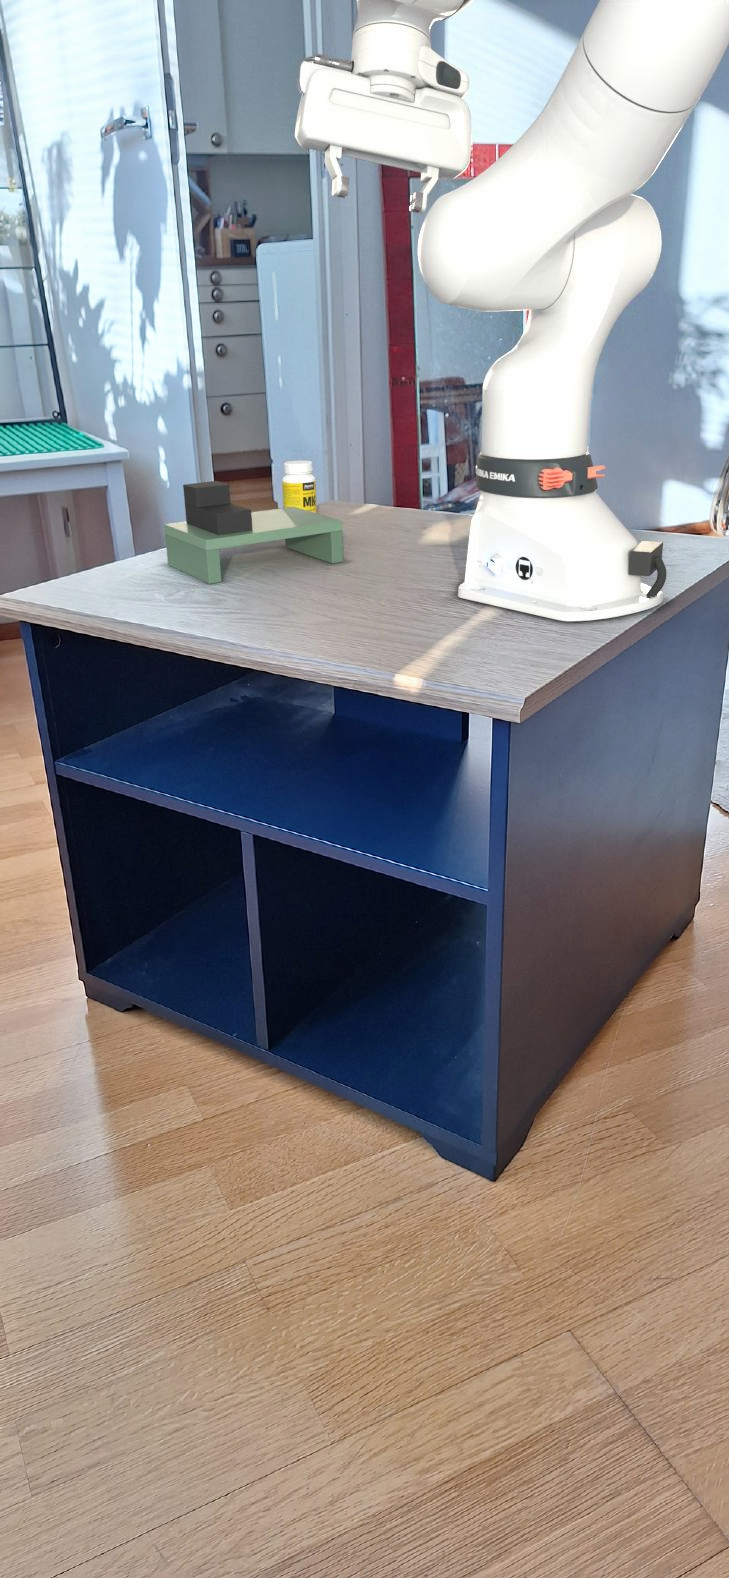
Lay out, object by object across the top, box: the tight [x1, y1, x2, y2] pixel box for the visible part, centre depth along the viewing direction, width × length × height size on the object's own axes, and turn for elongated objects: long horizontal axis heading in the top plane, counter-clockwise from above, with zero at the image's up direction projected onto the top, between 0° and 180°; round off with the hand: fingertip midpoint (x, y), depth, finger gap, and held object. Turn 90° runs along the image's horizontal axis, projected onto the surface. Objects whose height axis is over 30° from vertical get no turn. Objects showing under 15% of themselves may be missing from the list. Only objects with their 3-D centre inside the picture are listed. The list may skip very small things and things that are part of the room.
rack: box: [163, 507, 344, 585], centre depth 135 cm, size 12×18×5 cm, turn 122°
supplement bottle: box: [281, 459, 318, 514], centre depth 158 cm, size 5×5×8 cm
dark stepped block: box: [182, 480, 252, 535], centre depth 131 cm, size 9×4×5 cm, turn 32°
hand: (379, 203), depth 127 cm, fingers open, 8 cm apart
